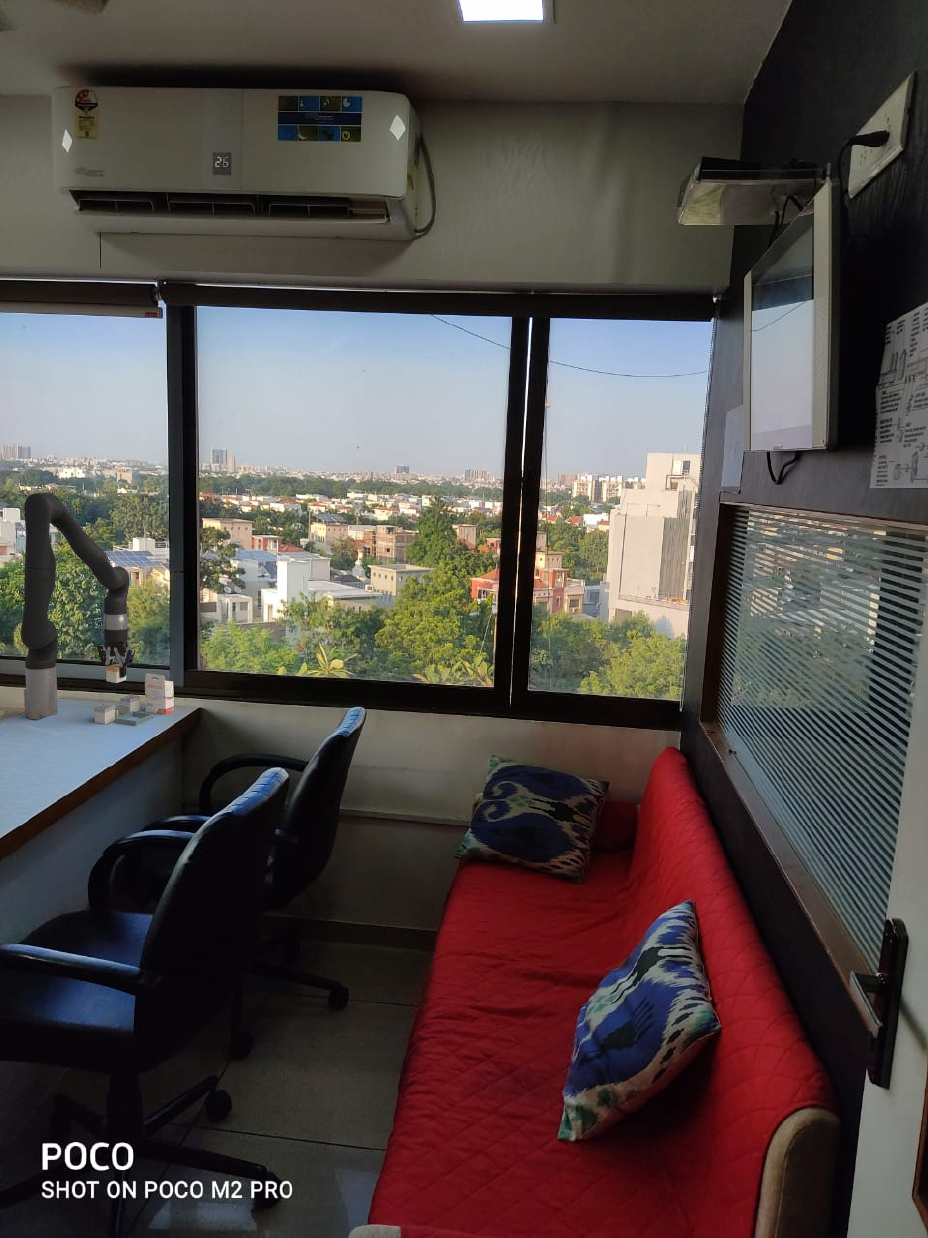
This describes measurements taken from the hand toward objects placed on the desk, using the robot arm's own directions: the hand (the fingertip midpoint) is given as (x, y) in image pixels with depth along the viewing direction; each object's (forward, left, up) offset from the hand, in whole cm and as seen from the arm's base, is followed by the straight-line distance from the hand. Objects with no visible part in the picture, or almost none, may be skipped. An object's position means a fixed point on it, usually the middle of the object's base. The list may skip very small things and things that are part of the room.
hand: (116, 676), depth 281 cm
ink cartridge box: (+9, +11, -15) cm, 21 cm away
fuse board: (0, 0, -15) cm, 15 cm away
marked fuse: (0, 0, -1) cm, 1 cm away
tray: (+8, -2, -15) cm, 17 cm away
